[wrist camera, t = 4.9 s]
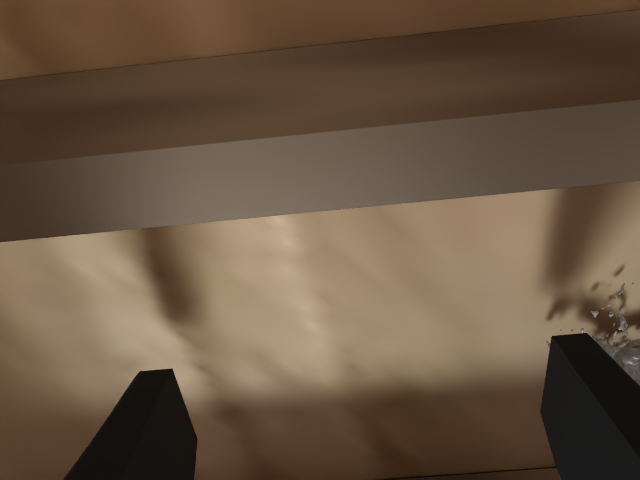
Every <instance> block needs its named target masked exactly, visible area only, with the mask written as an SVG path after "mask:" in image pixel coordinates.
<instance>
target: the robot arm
mask: <svg viewBox="0 0 640 480" xmlns="http://www.w3.org/2000/svg"><path fill="white" fill-rule="evenodd" d="M541 415H542V419H543V423H544V426H545V430H546V434H547V437H548V441H549V444H550V448H551V451H552V454H553V458H554V461H555V465H556V467H557V470H558V472H559V475H560V477H561V480H640V385H639V384H638V383H637V382H636V381H635V380H634V379H633V378H632V377H630V376H629V375H628V373H627V372H626V371H625V370H624V369H623V368H622V367H621V366H620V365H619V364H618V363H617V362H616V361H615V360H614V359H613V358H612V357H611V356H610V355H609V354H608V353H607V352H606V351H605V350H604V349H603V348H602V347H601V346H600V345H599V344H598V343H597V342H596V341H595V340H594V339H593V338H592V337H591V336H590V335H588V334H587V333H581V334H570V335H558V336H552V337H551V344H550V351H549V357H548V364H547V371H546V378H545V385H544V391H543V398H542V405H541ZM196 449H197V437H196V434H195V431H194V428H193V425H192V423H191V420H190V417H189V414H188V411H187V409H186V406H185V403H184V400H183V397H182V394H181V392H180V389H179V386H178V383H177V380H176V378H175V375H174V372H173V369H162V370H150V371H140V372H139V373H138V374H137V375H136V377H135V378H134V379H133V381H132V382H131V384H130V385H129V387H128V388H127V390H126V391H125V393H124V394H123V396H122V397H121V399H120V400H119V402H118V403H117V405H116V406H115V408H114V409H113V411H112V412H111V414H110V415H109V417H108V418H107V419H106V421H105V422H104V424H103V425H102V427H101V428H100V430H99V431H98V432H97V434H96V435H95V437H94V438H93V440H92V441H91V442H90V444H89V445H88V447H87V448H86V449H85V451H84V452H83V453H82V455H81V456H80V458H79V459H78V460H77V462H76V463H75V465H74V466H73V467H72V469H71V470H70V471H69V473H68V474H67V476H66V477H65V478H64V480H194V473H195V462H196Z"/></svg>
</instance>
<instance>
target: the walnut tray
mask: <svg viewBox="0 0 640 480" xmlns="http://www.w3.org/2000/svg"><path fill="white" fill-rule="evenodd" d="M630 181H640V10H634V11H625V12H616V13H607V14H598V15H589V16H580V17H571V18H562V19H553V20H544V21H535V22H526V23H517V24H508V25H499V26H490V27H480V28H471V29H462V30H453V31H444V32H435V33H426V34H417V35H408V36H399V37H390V38H381V39H372V40H363V41H354V42H345V43H335V44H326V45H317V46H308V47H299V48H290V49H281V50H272V51H263V52H254V53H245V54H236V55H227V56H218V57H209V58H200V59H190V60H181V61H172V62H163V63H154V64H145V65H136V66H127V67H118V68H109V69H100V70H91V71H82V72H73V73H64V74H55V75H46V76H36V77H27V78H18V79H9V80H0V242H6V241H16V240H27V239H37V238H48V237H58V236H68V235H79V234H89V233H100V232H110V231H120V230H131V229H141V228H152V227H162V226H172V225H183V224H193V223H204V222H214V221H224V220H235V219H245V218H256V217H266V216H276V215H287V214H297V213H308V212H318V211H328V210H339V209H349V208H360V207H370V206H380V205H391V204H401V203H412V202H422V201H432V200H443V199H453V198H464V197H474V196H484V195H495V194H505V193H516V192H526V191H536V190H547V189H557V188H568V187H578V186H588V185H599V184H609V183H620V182H630ZM396 480H561V477H560V475H559V472H558V470H557V468H547V469H534V470H520V471H506V472H492V473H479V474H465V475H451V476H437V477H424V478H410V479H396Z"/></svg>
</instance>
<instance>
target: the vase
mask: <svg viewBox="0 0 640 480" xmlns="http://www.w3.org/2000/svg"><path fill="white" fill-rule="evenodd" d="M632 284H634V283H632ZM623 288H624V284H623V285H622V286H621V289H620V291H619V292H618V293H616V295H615V296H614V298H615V299H616V298H617V297H618V295H619V294H621V293H622V292H623V291H624V290H623ZM611 302H612V301H611ZM610 304H611V303H610ZM610 304H609V305H608V306H610ZM602 309H604V307H602ZM591 312H592V314H593V316H594V317H596V316H597V314H598V312H599V311H591ZM608 315H609V316H610V317H612V316H613V315H614V311H612V312H609V313H608ZM618 317H619V318H620V326H619V328H618V330H623V331H624V330H626V328H628V327H627V326H628V324H627V321H626V320H625V318H624V316H623V315H622V314H620V313H618ZM624 325H625V326H624ZM613 326H615V323H614V324H613ZM623 328H624V329H623ZM560 330H561V329H560ZM561 331H562V330H561ZM571 331H573V330H571ZM583 332H584V329H583V328H582V329H581V333H583ZM616 333H617V331H615V333H614V335H613V337H616ZM626 334H628V332H626ZM606 336H609V334H607V335H606ZM592 338H593V339H595V340H596V342H597V343H598V344H599V345H600V346H601V347H602V348H603V349H604V350H605V351H606V352H607V353H608V354H609V355H610V356H611V357H612V358H613V359H614V360H615V361H616V362H617V363H618V364H619V365H620V366H621V367H622V368H623V369H624V370H625V371H626V372H627V373H628V375H629V376H630V377H632V378H633V379H634V380H635V381H636V382H637V383H638V384H639V385H640V339H638V340H633V341H631V340H630V341H629V342H628V343H627V345H626V346H624V347H621V348H619V347H615V346H616V345H615V342H614V345H613V346H611V345H610V343H609V342H608V341H607V339H601V338H598V336H594V335H592ZM623 338H626V336H623ZM612 339H614V338H612ZM546 342H547V343H548V346H549V348H550V343H549V342H548V341H546ZM617 344H621V342H617Z"/></svg>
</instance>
